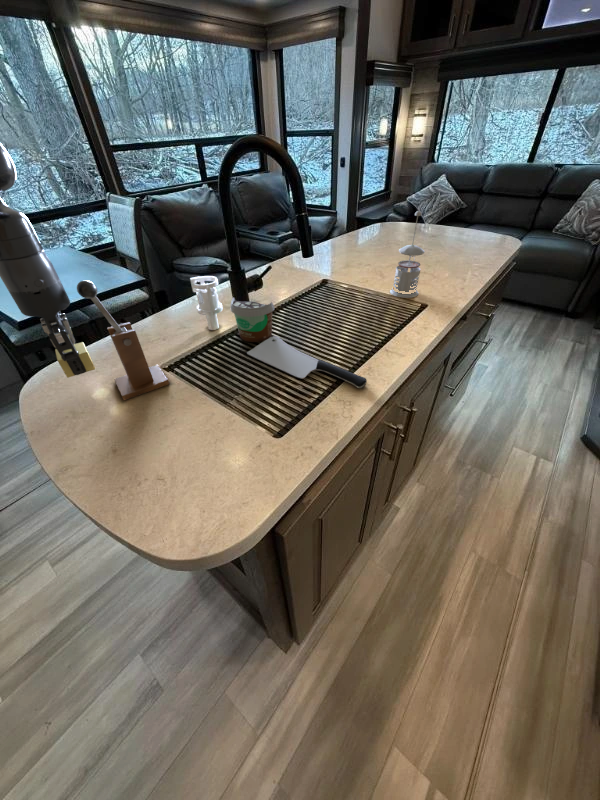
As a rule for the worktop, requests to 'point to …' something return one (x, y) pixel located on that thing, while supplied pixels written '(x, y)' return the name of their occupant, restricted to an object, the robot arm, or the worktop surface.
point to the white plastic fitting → (207, 299)
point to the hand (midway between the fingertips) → (78, 366)
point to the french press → (404, 276)
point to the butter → (83, 356)
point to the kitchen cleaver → (299, 361)
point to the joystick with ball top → (97, 302)
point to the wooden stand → (135, 365)
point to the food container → (253, 320)
